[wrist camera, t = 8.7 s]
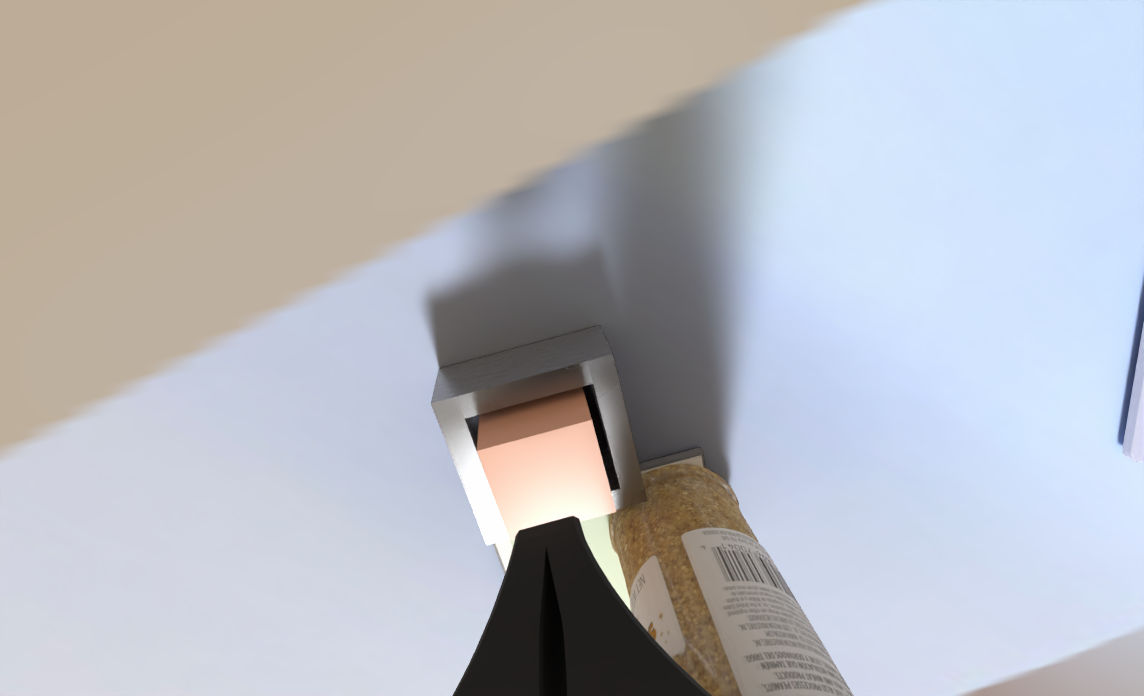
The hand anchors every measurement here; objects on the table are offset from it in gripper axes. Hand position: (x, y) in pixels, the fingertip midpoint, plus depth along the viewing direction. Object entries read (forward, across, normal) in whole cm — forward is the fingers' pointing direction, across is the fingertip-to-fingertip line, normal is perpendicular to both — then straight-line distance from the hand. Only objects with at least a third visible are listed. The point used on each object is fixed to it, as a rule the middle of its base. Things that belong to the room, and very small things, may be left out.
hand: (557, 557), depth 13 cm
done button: (+5, 0, 0) cm, 5 cm away
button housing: (+6, 0, 0) cm, 6 cm away
